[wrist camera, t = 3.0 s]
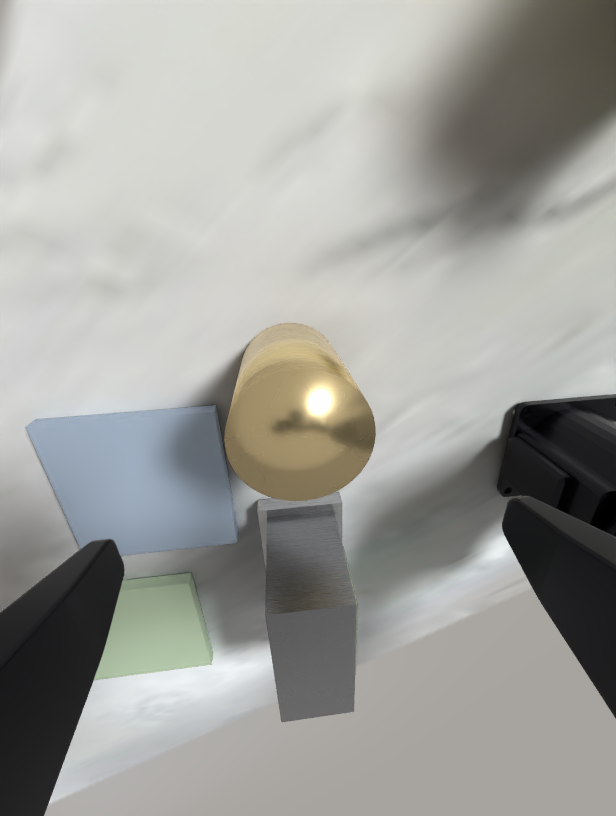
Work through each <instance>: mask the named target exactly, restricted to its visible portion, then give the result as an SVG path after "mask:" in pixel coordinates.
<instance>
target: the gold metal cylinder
mask: <svg viewBox="0 0 616 816" xmlns="http://www.w3.org/2000/svg"><path fill="white" fill-rule="evenodd" d="M375 435H376V433H375V422H374V417H373V414H372V411H371V409H370V407H369V405H368V403H367V401H366V399H365V398H364V396H363V395H362V393H361V392H360V390H359V388H358V387H357V385H356V384H355V382H354V380H353V379H352V377H351V376H350V374H349V372H348V371H347V369H346V368H345V366H344V364H343V363H342V361H341V360H340V358H339V357H338V355H337V353H336V352H335V350H334V349H333V347H332V345H331V344H330V343H329V341H328V340H327V339H326V338H325V337H324V336H323V335H322V334H321V333H319V332H318V331H316V330H315V329H313V328H311V327H308V326H306V325H302V324H297V323H284V324H278V325H274V326H272V327H269V328H267V329H265V330H264V331H262V332H261V333H259V334H258V335H257V336H256V337H255V338H254V339H253V340H252V341H251V342H250V344H249V345H248V347H247V348H246V350H245V353H244V355H243V358H242V362H241V366H240V370H239V374H238V378H237V382H236V386H235V390H234V395H233V399H232V403H231V407H230V411H229V415H228V419H227V423H226V427H225V436H224V442H225V450H226V454H227V457H228V460H229V462H230V464H231V466H232V468H233V469H234V471H235V472H236V474H237V475H238V476H239V477H240V479H242V480H243V481H244V482H245V483H246V484H247V485H248V486H250V487H251V488H252V489H254V490H256V491H258V492H259V493H261V494H264V495H266V496H269V497H272V498H275V499H279V500H286V501H307V500H313V499H317V498H321V497H324V496H327V495H330V494H332V493H334V492H336V491H338V490H340V489H341V488H343V487H344V486H346V485H347V484H349V483H350V482H351V481H352V480H353V479H354V478H355V477H356V476H357V475H358V474H359V473H360V472H361V471H362V469H363V468H364V467H365V465H366V463H367V462H368V460H369V458H370V456H371V453H372V451H373V447H374V443H375Z"/></svg>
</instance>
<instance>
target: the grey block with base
mask: <svg viewBox="0 0 616 816" xmlns="http://www.w3.org/2000/svg"><path fill="white" fill-rule="evenodd" d="M257 512H258V520H259V527H260V534H261V541H262V549H263V556H264V563H265V570H266V622H267V629H268V635H269V642H270V649H271V655H272V662H273V669H274V675H275V682H276V689H277V695H278V702H279V708H280V715H281V721H282V722H286V721H293V720H300V719H307V718H314V717H320V716H327V715H333V714H341V713H347V712H353V711H354V690H355V675H356V645H357V609H358V604H357V600H356V596H355V592H354V588H353V584H352V580H351V575H350V571H349V567H348V563H347V559H346V555H345V551H344V547H343V545H342V500H341V497H340V493H339V492H334V493H332V494H330V495H327V496H324V497H321V498H317V499H313V500H307V501H286V500H279V499H275V498H273V499H263V500H258V509H257Z"/></svg>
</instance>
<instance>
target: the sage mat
mask: <svg viewBox="0 0 616 816" xmlns="http://www.w3.org/2000/svg"><path fill="white" fill-rule="evenodd" d="M212 658H213V651H212V647H211V643H210V640H209V636H208V632H207V629H206V625H205V621H204V618H203V614H202V610H201V606H200V603H199V599H198V595H197V592H196V588H195V584H194V581H193V577H192V573H184V574H175V575H166V576H157V577H148V578H140V579H131V580H123V581H122V585H121V589H120V593H119V596H118V600H117V604H116V608H115V612H114V616H113V619H112V623H111V627H110V631H109V635H108V639H107V642H106V645H105V649H104V652H103V655H102V658H101V661H100V664H99V667H98V670H97V672H96V675H95V678H94V680H99V679H107V678H114V677H122V676H129V675H137V674H144V673H152V672H159V671H167V670H174V669H182V668H189V667H197V666H204V665H212Z"/></svg>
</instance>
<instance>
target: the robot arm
mask: <svg viewBox="0 0 616 816" xmlns="http://www.w3.org/2000/svg"><path fill="white" fill-rule="evenodd" d="M527 409H528V410H527ZM526 410H527V412H525V411H526ZM524 412H525V413H524ZM497 491H498V492H499V493H500V494H501V495H502V496H504V497H509V496H519V495H522V496H519V497H512V498H510V499H509V501H508V503H507V507H506V511H505V514H504V518H503V522H502V529H503V532H504V535H505V537H506V539H507V541H508V543H509V545H510V546H511V548H512V550H513V552H514V554H515V556H516V558H517V560H518V562H519V564H520V565H521V567H522V569H523V571H524V573H525V575H526V577H527V579H528V581H529V583H530V584H531V586H532V588H533V590H534V592H535V593H536V595H537V597H538V599H539V600H540V602H541V604H542V605H543V607H544V608H545V610H546V611H547V613H548V614H549V616H550V618H551V619H552V621H553V622H554V624H555V625H556V627H557V628H558V630H559V631H560V633H561V635H562V636H563V638H564V639H565V641H566V642H567V644H568V645H569V647H570V648H571V650H572V651H573V653H574V655H575V656H576V658H577V659H578V661H579V662H580V664H581V666H582V667H583V669H584V670H585V672H586V673H587V675H588V676H589V678H590V679H591V681H592V682H593V684H594V686H595V687H596V689H597V690H598V691H599V693H600V695H601V696H602V698H603V699H604V701H605V703H606V704H607V706H608V707H609V709H610V710H611V712H612V713H613V715H614V716H615V718H616V394H613V395H601V396H589V397H577V398H566V399H554V400H542V401H530V402H523V403H521V404H519V405H518V406H517V408H516V410H515V413H514V418H513V422H512V426H511V430H510V434H509V438H508V443H507V447H506V451H505V455H504V459H503V464H502V468H501V472H500V476H499V480H498V485H497ZM123 577H124V564H123V561H122V559H121V556H120V553H119V551H118V548H117V546H116V543H115V541H114V540H112V539H101V540H94V541H91V542H89V543H88V544H87V545H85V546H84V547H83V548H82V549H80V550H79V551H78V552H76V553H75V554H74V555H73V556H71V557H70V558H69V559H68V560H66V561H65V562H64V563H63V564H61V565H60V566H59V567H57V568H56V569H55V570H54V571H52V572H51V573H50V574H49V575H47V576H46V577H45V578H44V579H42V580H41V581H40V582H39V583H37V584H36V585H35V586H33V587H32V588H31V589H30V590H28V591H27V592H26V593H25V594H23V595H22V596H21V597H20V598H18V599H17V600H16V601H14V602H13V603H12V604H11V605H9V606H8V607H7V608H6V609H4V610H3V611H2V612H1V613H0V816H44V814H45V811H46V809H47V806H48V803H49V801H50V798H51V795H52V792H53V790H54V787H55V784H56V781H57V779H58V776H59V773H60V770H61V768H62V765H63V762H64V760H65V757H66V754H67V751H68V749H69V746H70V743H71V740H72V738H73V735H74V732H75V730H76V727H77V724H78V721H79V719H80V716H81V713H82V710H83V708H84V705H85V702H86V700H87V697H88V694H89V691H90V689H91V686H92V683H93V680H94V678H95V675H96V672H97V670H98V667H99V664H100V661H101V658H102V655H103V652H104V649H105V645H106V642H107V639H108V635H109V631H110V627H111V623H112V619H113V616H114V612H115V608H116V604H117V600H118V596H119V593H120V589H121V585H122V581H123Z"/></svg>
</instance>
